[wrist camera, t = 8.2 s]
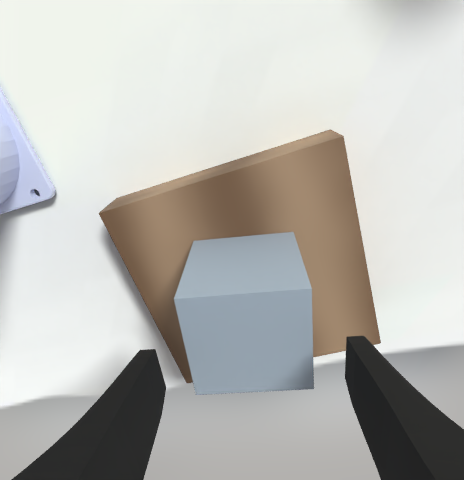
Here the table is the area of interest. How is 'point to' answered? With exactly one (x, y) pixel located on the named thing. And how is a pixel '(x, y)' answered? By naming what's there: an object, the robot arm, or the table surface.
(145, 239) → the walnut block
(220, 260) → the slate cube
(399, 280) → the table surface
